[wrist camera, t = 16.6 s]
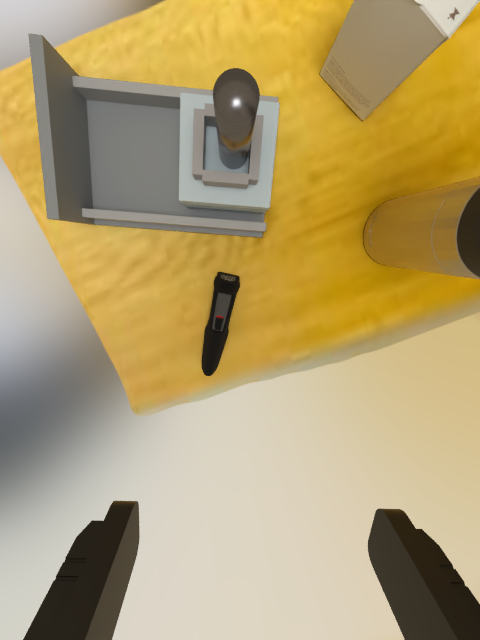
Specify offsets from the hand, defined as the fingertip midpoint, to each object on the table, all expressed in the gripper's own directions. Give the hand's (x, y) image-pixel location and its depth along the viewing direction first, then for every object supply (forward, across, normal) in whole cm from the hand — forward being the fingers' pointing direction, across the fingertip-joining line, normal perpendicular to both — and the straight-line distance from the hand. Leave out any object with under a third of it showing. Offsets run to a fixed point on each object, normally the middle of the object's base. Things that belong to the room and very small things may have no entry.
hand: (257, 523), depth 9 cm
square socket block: (+33, +2, -18) cm, 38 cm away
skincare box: (+34, -13, -30) cm, 47 cm away
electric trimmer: (+35, +2, +3) cm, 35 cm away
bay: (+34, +9, -18) cm, 40 cm away
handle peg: (+26, +2, -18) cm, 32 cm away
